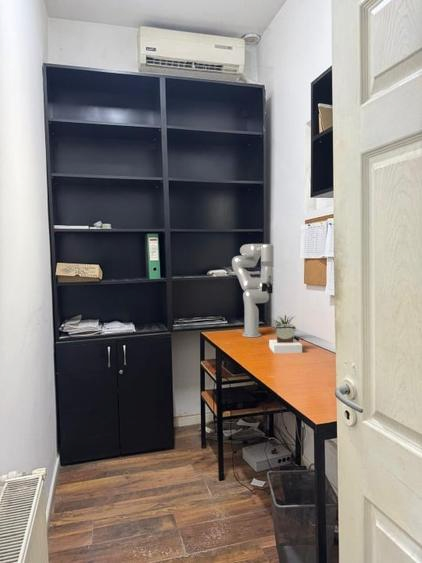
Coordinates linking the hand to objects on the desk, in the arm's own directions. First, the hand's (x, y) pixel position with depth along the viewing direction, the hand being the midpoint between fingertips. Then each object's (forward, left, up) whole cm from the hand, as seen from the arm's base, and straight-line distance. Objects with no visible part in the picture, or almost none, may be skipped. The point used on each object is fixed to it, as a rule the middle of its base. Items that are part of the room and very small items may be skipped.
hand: (266, 292), depth 234 cm
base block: (+15, +6, -33) cm, 37 cm away
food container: (+14, +6, -28) cm, 32 cm away
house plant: (-10, +17, -32) cm, 38 cm away
